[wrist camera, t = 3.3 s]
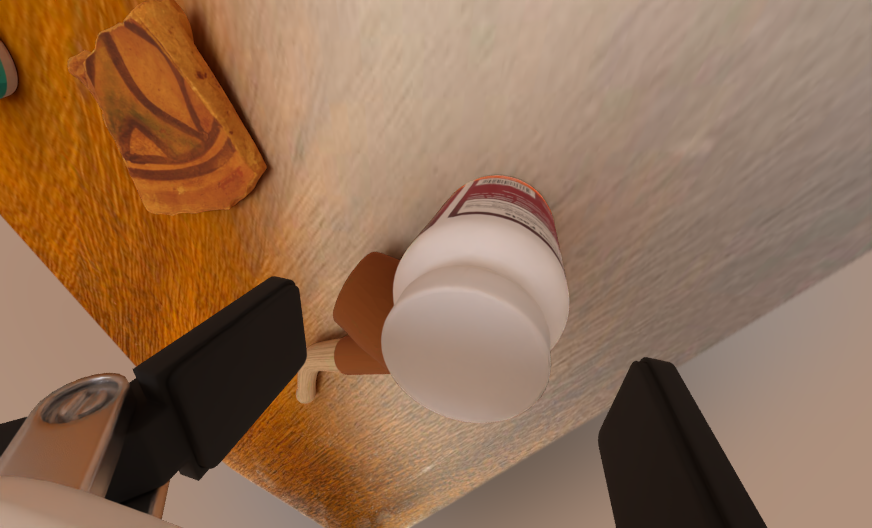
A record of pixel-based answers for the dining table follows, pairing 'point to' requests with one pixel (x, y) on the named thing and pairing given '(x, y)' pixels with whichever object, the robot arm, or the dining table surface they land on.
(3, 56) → the beverage can
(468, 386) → the pill bottle
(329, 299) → the dining table surface
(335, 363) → the smoking pipe
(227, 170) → the pottery fragment
